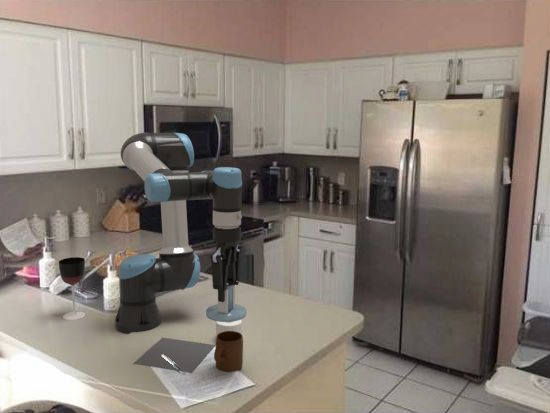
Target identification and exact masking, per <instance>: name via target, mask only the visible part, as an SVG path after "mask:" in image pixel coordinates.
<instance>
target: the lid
mask: <svg viewBox="0 0 550 413" xmlns="http://www.w3.org/2000/svg"><path fill="white" fill-rule="evenodd" d="M226 289H228V313H222V312H218V303H216V304H213V305H210V306H209V307H207V308H206V310H205V315H206V317H207V319H209V320H211V321H214V322H216V321H218V322H233V321H238V320H243V319H245V317H246V316H247V308H246V307H244V306H243V305H241V304H236V303H235V308H234V309H232V285H229V284H228V283H227V287H226Z"/></svg>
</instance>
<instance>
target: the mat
mask: <svg viewBox="0 0 550 413" xmlns="http://www.w3.org/2000/svg"><path fill="white" fill-rule="evenodd" d="M214 348H216V344H209V343H203V342H195V341H191V340H181V339H177V338H176V339H175V338H170V337H169V338H168V337H161V338H160V339H159V340H158V341H157V342H156V343H154V344H153V345H152V346H151V347H150V348H148V350H146V351H145V352H144V353H143V354H142V355H141V356H139V358H137V359H136V360H135V361H134V362H133V363H132V365H140V366H145V367H152V368H158V369H163V370H170V371H176V372H183V373H188V374H192V373H193V372H194V371H196V369H197V367H199V366H200V364H201V363H202V362H203V361H204V359H206V358H207V356H209V354H210V353H211V351H212V350H213V349H214ZM161 354H164V355H166V356H167V357H169V358H170V359H171V360H172V361H174V362H175V363H176V364H177V365H178V367H179V368H180V369H176V368H174V367H173V365H172V364H170V363H169V362H168V361H166V360H165V359H164V358H162V357H161Z"/></svg>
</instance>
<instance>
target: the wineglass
mask: <svg viewBox="0 0 550 413" xmlns="http://www.w3.org/2000/svg"><path fill="white" fill-rule="evenodd" d="M85 260H86V259H85V258H84V257H80V256H78V257H73V256H72V257H66V258H63V259H60V260H59V261H58V269H59V274H60V278H61V281H63V282H64V283H66V284H67V285H71V298H72V312H71V311H70V312H67V313H65V314H63V315H62V318H63V319H64V320H67V321H72V320H73V321H75V320H79V319H82V318H84V317H86V315H87V314H86V312H83V311H76V298H75V296H76V295H75V294H76V293H75V285H76V284H78V283H79V282H81V280H83V278H84V275H85V267H86V266H85V265H86V263H85V262H86V261H85Z"/></svg>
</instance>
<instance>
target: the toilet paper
mask: <svg viewBox="0 0 550 413" xmlns="http://www.w3.org/2000/svg"><path fill="white" fill-rule="evenodd" d="M224 331H235V332H239V333H241V334H242V335H243V333H242V332H243V319H241V320H238V321H233V322H218V321H215V338H216V337H217V335H218V334H219V333H221V332H224Z"/></svg>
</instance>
